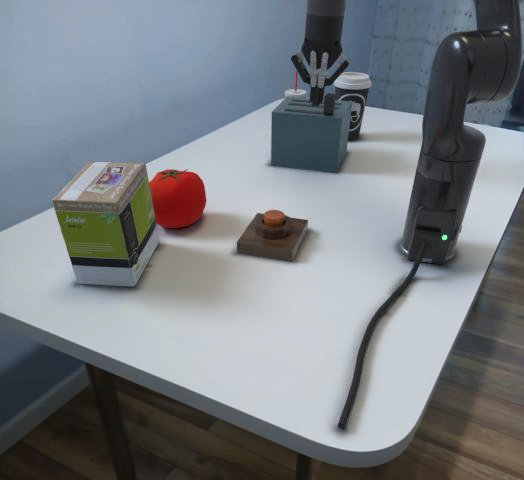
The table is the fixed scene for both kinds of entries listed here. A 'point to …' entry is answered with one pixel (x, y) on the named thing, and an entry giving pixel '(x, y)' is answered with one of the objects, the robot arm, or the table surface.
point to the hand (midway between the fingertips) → (316, 105)
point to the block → (273, 238)
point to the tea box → (108, 223)
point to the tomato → (177, 198)
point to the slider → (329, 103)
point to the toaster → (309, 134)
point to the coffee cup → (353, 98)
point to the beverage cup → (296, 91)
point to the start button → (274, 218)
